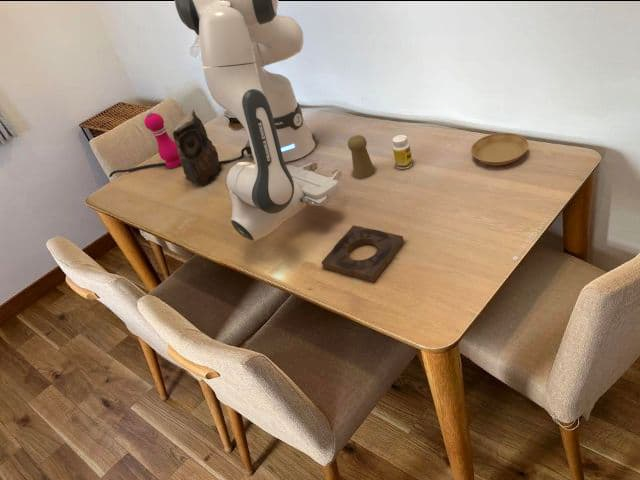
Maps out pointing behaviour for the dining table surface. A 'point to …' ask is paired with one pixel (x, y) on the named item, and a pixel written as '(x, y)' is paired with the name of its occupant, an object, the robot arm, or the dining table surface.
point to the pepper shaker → (360, 157)
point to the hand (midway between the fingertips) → (327, 168)
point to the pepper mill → (162, 139)
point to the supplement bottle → (402, 152)
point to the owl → (196, 150)
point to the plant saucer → (499, 148)
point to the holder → (367, 267)
